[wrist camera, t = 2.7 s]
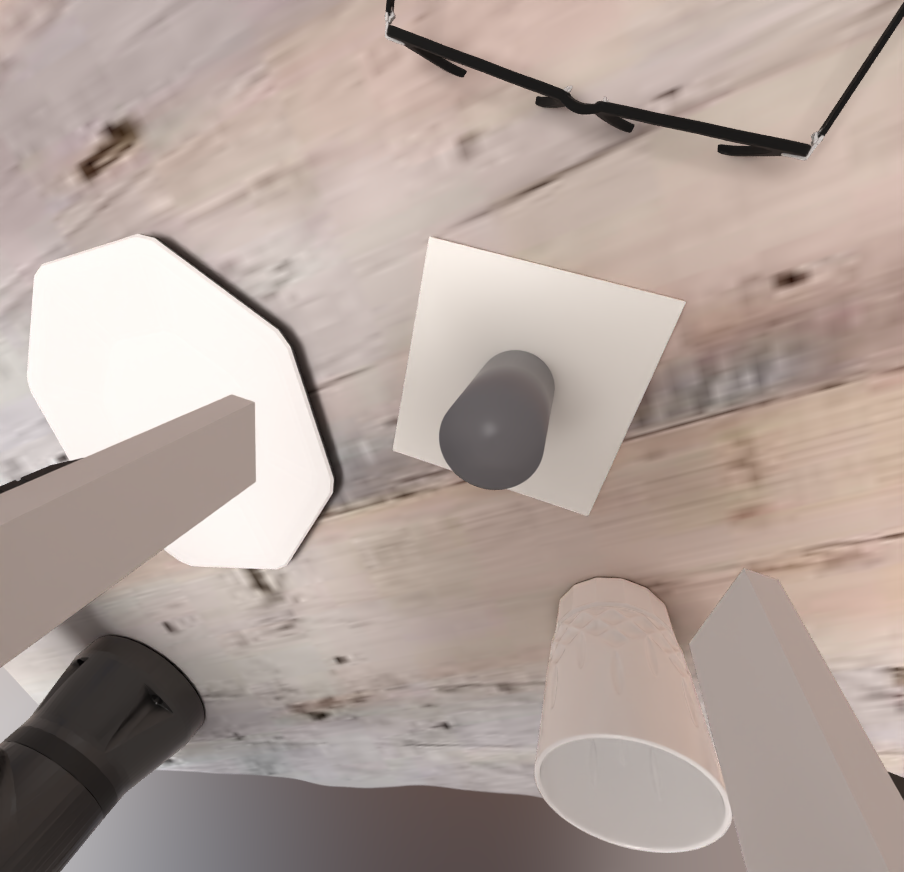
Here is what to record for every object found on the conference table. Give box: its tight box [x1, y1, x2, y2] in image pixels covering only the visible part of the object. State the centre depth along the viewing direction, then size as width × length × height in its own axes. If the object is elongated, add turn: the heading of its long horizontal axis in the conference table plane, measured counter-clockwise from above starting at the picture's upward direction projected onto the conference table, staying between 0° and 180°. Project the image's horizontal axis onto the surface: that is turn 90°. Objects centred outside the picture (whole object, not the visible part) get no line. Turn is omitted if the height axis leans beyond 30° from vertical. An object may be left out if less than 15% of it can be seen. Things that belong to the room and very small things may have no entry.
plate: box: [27, 234, 335, 569], centre depth 30 cm, size 24×24×2 cm
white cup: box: [534, 578, 733, 853], centre depth 23 cm, size 8×8×10 cm
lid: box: [392, 237, 686, 516], centre depth 19 cm, size 12×12×8 cm
